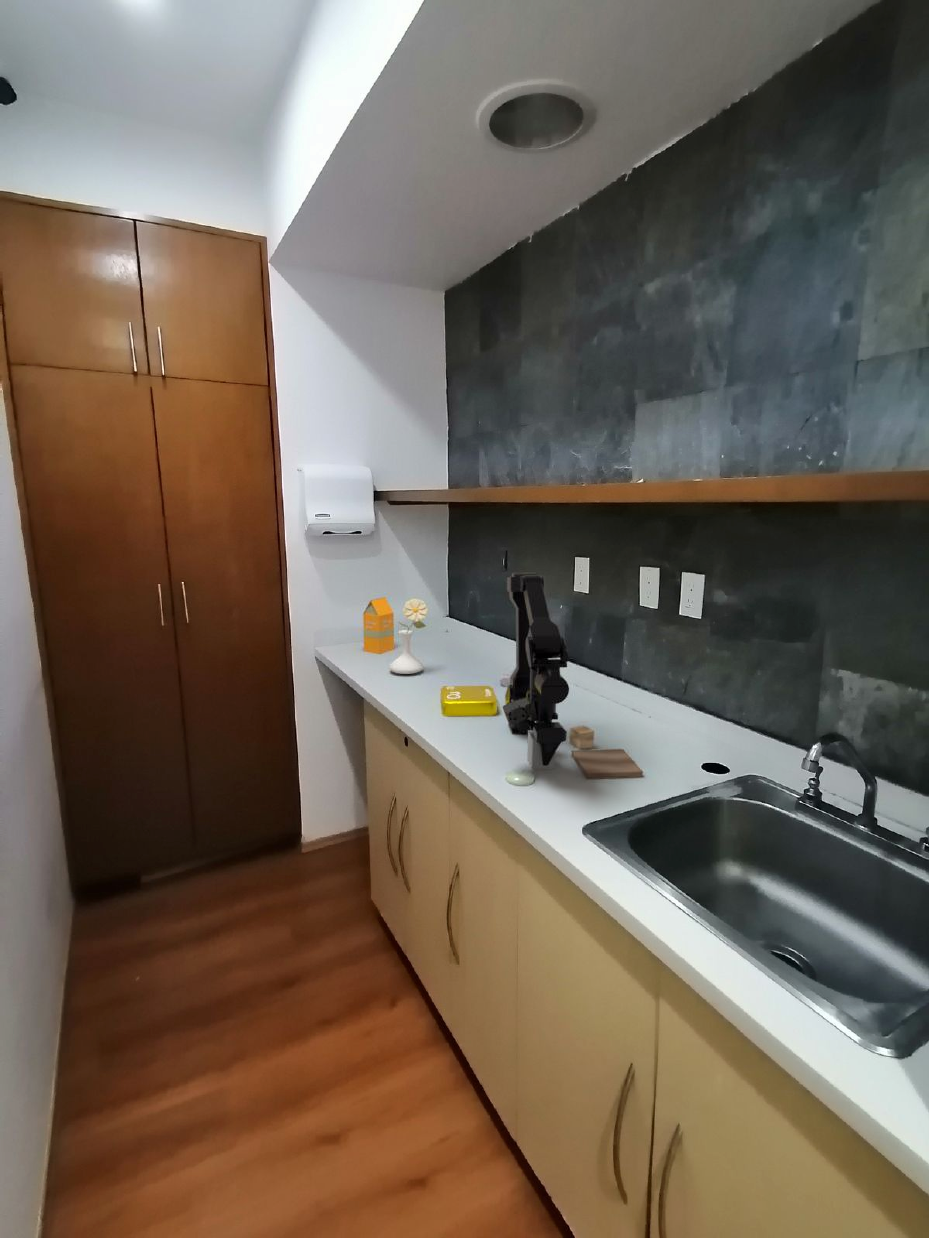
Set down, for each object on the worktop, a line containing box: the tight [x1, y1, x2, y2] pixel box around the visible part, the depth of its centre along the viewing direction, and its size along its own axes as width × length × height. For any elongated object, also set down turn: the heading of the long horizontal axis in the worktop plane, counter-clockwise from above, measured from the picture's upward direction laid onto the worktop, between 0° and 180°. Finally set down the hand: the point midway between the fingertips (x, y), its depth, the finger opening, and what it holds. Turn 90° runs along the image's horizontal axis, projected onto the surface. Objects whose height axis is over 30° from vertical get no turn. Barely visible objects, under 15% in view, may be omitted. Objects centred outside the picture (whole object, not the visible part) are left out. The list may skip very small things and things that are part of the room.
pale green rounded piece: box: [504, 769, 535, 787], centre depth 130 cm, size 6×6×1 cm
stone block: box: [499, 669, 515, 688], centre depth 196 cm, size 12×5×10 cm
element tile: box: [440, 685, 498, 717], centre depth 174 cm, size 15×15×5 cm
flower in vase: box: [388, 597, 429, 675], centre depth 206 cm, size 13×11×25 cm
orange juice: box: [362, 596, 395, 655], centre depth 236 cm, size 8×9×20 cm
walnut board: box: [571, 748, 644, 780], centre depth 136 cm, size 12×12×1 cm
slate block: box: [526, 730, 556, 771], centre depth 136 cm, size 5×5×7 cm
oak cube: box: [568, 725, 595, 750], centre depth 148 cm, size 4×4×4 cm
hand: (540, 757), depth 137 cm, fingers open, 8 cm apart
